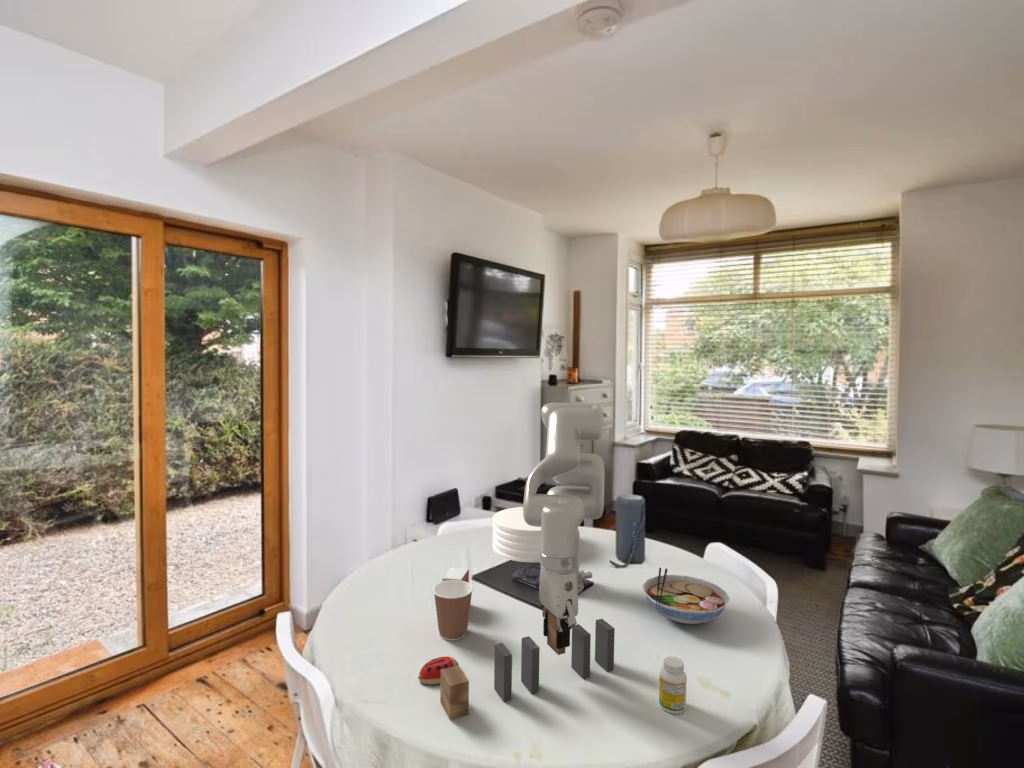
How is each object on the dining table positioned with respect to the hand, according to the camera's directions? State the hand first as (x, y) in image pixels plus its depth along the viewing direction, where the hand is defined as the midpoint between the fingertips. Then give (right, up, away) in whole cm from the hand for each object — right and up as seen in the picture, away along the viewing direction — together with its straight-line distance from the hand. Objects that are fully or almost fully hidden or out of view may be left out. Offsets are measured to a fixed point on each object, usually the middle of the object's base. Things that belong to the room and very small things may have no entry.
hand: (556, 640), depth 121 cm
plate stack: (-3, -4, +81) cm, 81 cm away
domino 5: (+12, -9, +6) cm, 16 cm away
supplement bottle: (+23, -10, -8) cm, 27 cm away
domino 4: (+6, -9, +4) cm, 11 cm away
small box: (-26, -7, +33) cm, 42 cm away
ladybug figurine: (-26, -9, +2) cm, 28 cm away
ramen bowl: (+38, -8, +30) cm, 49 cm away
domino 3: (0, -2, 0) cm, 2 cm away
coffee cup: (-25, -8, +20) cm, 33 cm away
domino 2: (-6, -9, -2) cm, 11 cm away
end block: (-22, -10, -9) cm, 25 cm away
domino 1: (-12, -9, -5) cm, 16 cm away
